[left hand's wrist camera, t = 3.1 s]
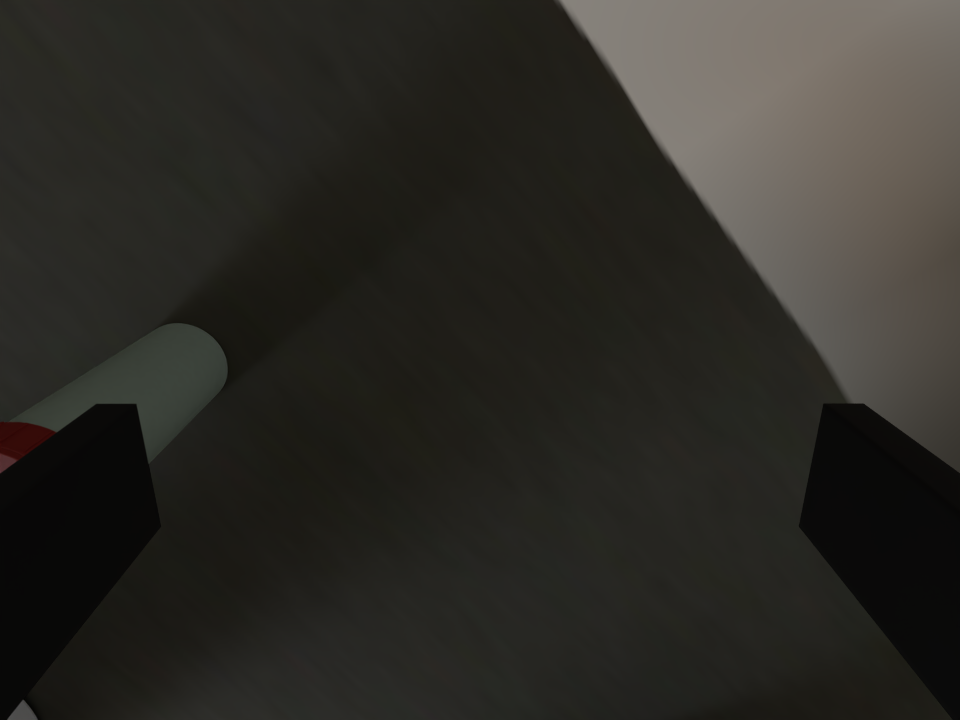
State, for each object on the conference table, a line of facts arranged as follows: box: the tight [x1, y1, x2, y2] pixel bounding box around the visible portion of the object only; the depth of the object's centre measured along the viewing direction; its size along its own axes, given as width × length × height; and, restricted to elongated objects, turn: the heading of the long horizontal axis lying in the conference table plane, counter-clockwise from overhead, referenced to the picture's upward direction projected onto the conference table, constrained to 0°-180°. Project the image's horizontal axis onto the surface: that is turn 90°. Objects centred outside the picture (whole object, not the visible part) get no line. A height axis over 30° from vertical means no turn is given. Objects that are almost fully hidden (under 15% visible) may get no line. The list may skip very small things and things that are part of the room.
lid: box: [0, 422, 57, 473], centre depth 26 cm, size 6×6×2 cm
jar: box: [9, 323, 228, 464], centre depth 34 cm, size 6×6×17 cm
